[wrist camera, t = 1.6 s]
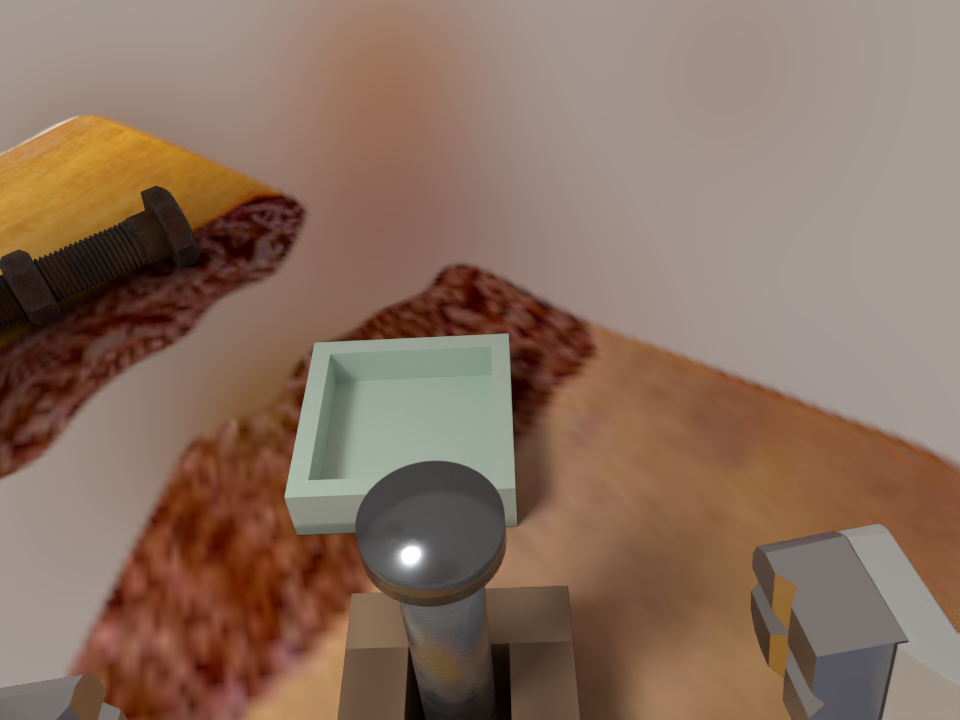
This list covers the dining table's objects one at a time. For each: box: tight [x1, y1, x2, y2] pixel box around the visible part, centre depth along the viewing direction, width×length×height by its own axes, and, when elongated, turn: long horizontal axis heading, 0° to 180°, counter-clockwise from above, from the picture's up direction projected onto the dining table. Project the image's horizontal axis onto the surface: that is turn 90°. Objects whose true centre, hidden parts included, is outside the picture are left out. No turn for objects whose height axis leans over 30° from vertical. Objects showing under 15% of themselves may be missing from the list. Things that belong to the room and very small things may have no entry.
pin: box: [355, 461, 506, 720], centre depth 31 cm, size 4×4×15 cm
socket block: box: [338, 586, 580, 720], centre depth 35 cm, size 9×9×4 cm
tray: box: [285, 334, 517, 535], centre depth 47 cm, size 11×11×3 cm
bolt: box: [0, 186, 200, 329], centre depth 58 cm, size 6×5×15 cm
